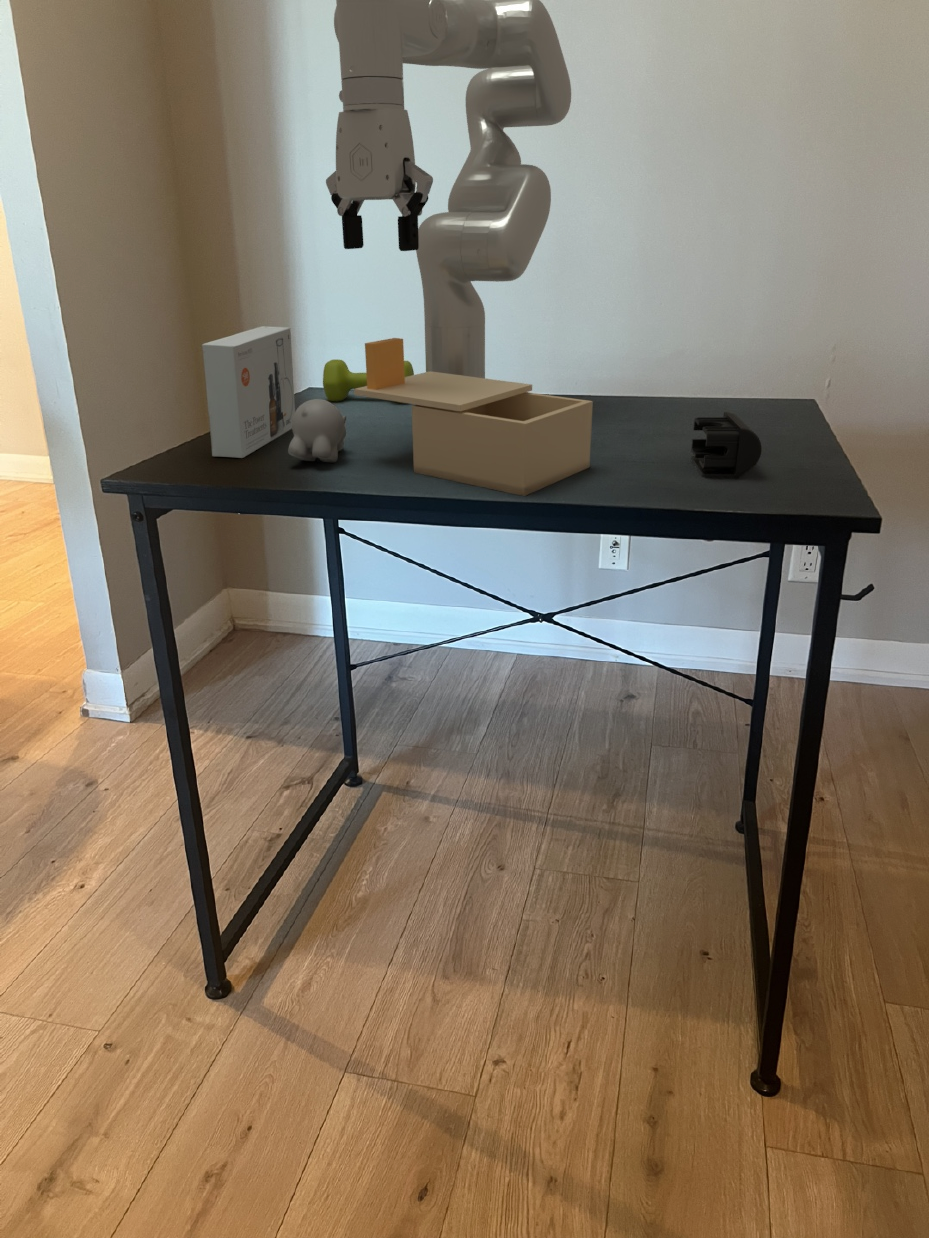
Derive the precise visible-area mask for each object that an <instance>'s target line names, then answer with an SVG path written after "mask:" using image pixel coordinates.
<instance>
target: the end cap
mask: <svg viewBox="0 0 929 1238" xmlns="http://www.w3.org/2000/svg"><path fill="white" fill-rule="evenodd" d="M693 431H702V432H703V433H704V435H706V438H692V439H691V448H690V449H691V453H692V456H691V458H690V461H691V460H692V461H691V463H692V462H693V463H692V464H693V466H694V467H695V466H696V467H695V469H696V468H697V469H696V470H697V471H699V472H700V473H699V472H698V473H699V475H700V474H701V475H700V477H701V478H703V477H705V479H737V478H740V477H742V476H743V475H745V473H748V471H751V470H752V469H753V468H754V467H755V466H756V465H757V463H758V462H759V460H760V458H761V455H762V441H761V440H760V437H758V435H757V434H756V433H755V431H753V430H752V429H751V428H750V427H749V426H748V425H747V424H746V423H745V422H744V421H743V420H742V419H741V418H740V417H739V416H738V415H736V414H735V413H731V412H728V411H723V417H719V416H718V417H716V416H710V417H709V416H707V417H705V416H704V417H699V416H698V417H695V418H694V421H693ZM736 477H737V478H736Z"/></svg>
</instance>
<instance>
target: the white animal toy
mask: <svg viewBox="0 0 929 1238" xmlns="http://www.w3.org/2000/svg"><path fill="white" fill-rule="evenodd" d="M346 421H347V415H342V413H341V411H340V410H339V409H338V407H337V406H336V405H334V404H333V403H332V402H331V401H329V400H325V399H322V398H314V399H309V400H307V401H304V402H303V403H301V404H300V405H299V406H298V407H297V409H295V413H294V415H293V419H292V429H291V430H292V433H293V437H292V439H291V441H290V442H289V445H288V447H287V453H288V454H289V455H290V456H291V457H294V458H298V459H300V460H302V461H306V462H315V461H316V459H317V458H318V459H319V460H320V461H321V462H323V463H329V464H330V463H336V462H338V457H339V451H341V450H343V448H344V446H345V439H346V437H347V428H346V425H345V424H346Z"/></svg>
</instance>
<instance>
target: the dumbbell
mask: <svg viewBox="0 0 929 1238" xmlns="http://www.w3.org/2000/svg"><path fill="white" fill-rule="evenodd" d="M323 366H324V367H323V373H322V388H323V390H324V394H325V396H326V399H327V401H328V402H341V401H344V400H345V399H346V398H347V397H348V395H349V392H350V391H351V390H354V389H356V388H360V387H364V386H367V374H366V372H352V371H350V369H349V367H348V365H347V363H346V361H345V360H343V359H331V360H328V361H327V362H326V363H325V364H324V365H323ZM404 374H405V377H408V376H412V375H415V372H414V367H413V365H412V363H411V361H409V360H404ZM393 402H394V403H396V404H404V403H403V402H397V401H393Z"/></svg>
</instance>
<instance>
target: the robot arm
mask: <svg viewBox="0 0 929 1238" xmlns="http://www.w3.org/2000/svg"><path fill="white" fill-rule="evenodd" d="M335 1H336V6H335V10H334V14H333V15H334V16H333V27H334V33H335V36H336V39H337V42H338V47H339V48H338V49H339V64H340V65H339V66H340V81H341V82H340V83H341V90H340V91H339V93H338V97H339V98H338V99H339V100H340V102H341V103H342V111H339V112H338V116H337V124H336V132H335V133H336V134H335V171H334V172H332V173H331V174H330V175H329V176H328V177H327V178H326V180H325V185H326V187H327V189H328V191H329V194H330V196H331V197H330V200H331V202H332V204H333V205H334V206H335V207H336V210H337V212H336V213H337V215H338V216H339V217H341V224H342V225H341V226H342V241H343V248H344V250H357V249H362V248H363V247H364V231H363V217H362V215H361V214H358V213H359V212H360V209H361V208H362V205H363V204H364V202H365V201H379V200H381V201H382V200H383V201H384V200H386V201H387V200H393V203H394V204H395V206H396V207H397V209H398V210H399V212H400V214H401V215H400V216H397V232H398V234H397V235H398V249H399V251H400V252H410V251H415V252H416V257H417V262H418V269H419V273H420V279H421V285H422V286H421V287H422V293H423V294H422V295H423V296H422V297H423V310H424V311H423V315H424V316H423V317H424V351H425V354H424V355H425V357H424V358H425V372H429V371H431V372H439V373H447V374H454V375H462V376H470V377H477V378H485V379H486V312H485V311H486V310H485V305H484V304H483V302H482V299H481V297H480V295H479V293H478V292H477V290H476V289H475V287H474V285H473V284H472V282H512V281H515V280H518V279H519V278H521V276H523V274H524V273H525V271H526V270H527V268H528V266H529V264H530V261H531V259H532V257H533V255H534V253H535V250H536V249H537V246H538V244H539V241H540V238H541V237H542V235H543V232H544V230H545V227H546V225H547V222H548V219H549V216H550V212H551V206H552V205H551V202H552V189H551V184H550V181H549V178H548V176H547V174H546V173H545V172H544V171H543V169H542V168H540V167H539V166H536V165H533V164H527V163H526V164H523V163H522V160H521V159H522V158H521V154H520V152H519V150H518V148H517V146H516V145H515V143H514V142H513V140H512V139H511V138H510V137H509V135H508V134H507V133H506V132H505V131H504V128H521V127H522V128H524V127H525V128H526V127H544V126H546V127H547V126H553V125H557V124H559V123H560V122H562V121H563V120H564V119H565V118H566V116H567V114H568V113H569V110H570V109H571V107H570V106H571V104H572V103H571V102H572V85H571V79H570V75H569V72H568V67H567V64H566V60H565V57H564V55H563V50H562V48H561V43H560V39H559V36H558V33H557V31H556V27H555V25H554V23H553V19H552V17H551V16H550V13H549V12H548V9H547V8H546V6H545V5H544V3H543V2H542V1H541V0H335ZM404 64H409V65H419V66H425V67H426V66H428V67H439V66H440V67H457V68H467V69H478V70H481V71H478V72H477V73H476V74H474V75H473V76H472V77H471V79H470V80H469V82H468V85H467V87H466V91H465V114H466V115H465V116H466V123H467V133H468V139H469V145H470V149H469V150H470V151H469V154H468V156H467V157H466V160H465V162H464V163H463V166H462V167H461V169H460V171H459V173H458V175H457V177H456V179H455V181H454V183H453V185H452V187H451V190H450V193H449V196H448V200H447V201H448V202H447V211H446V212H445V211H444V212H439V213H435V214H432V215H430V216H429V217H426V218H425V219H424V220H423V221H421V223H420V225H419V217H420V216H422V214H423V209H424V207H425V205H426V204H427V203H428V200H429V194H430V191H431V188H432V186H433V182H434V178H433V176H432V175H431V174H429V173H428V172H427V171H425V170H424V169H422V168H421V167H420V166H418V165H416V159H415V158H416V157H415V156H416V155H415V149H414V148H415V147H414V140H413V134H412V133H413V132H412V126H411V121H410V116H409V112H408V110H407V109H405V95H404V93H405V91H404V90H405V89H404V66H403V65H404Z"/></svg>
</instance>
